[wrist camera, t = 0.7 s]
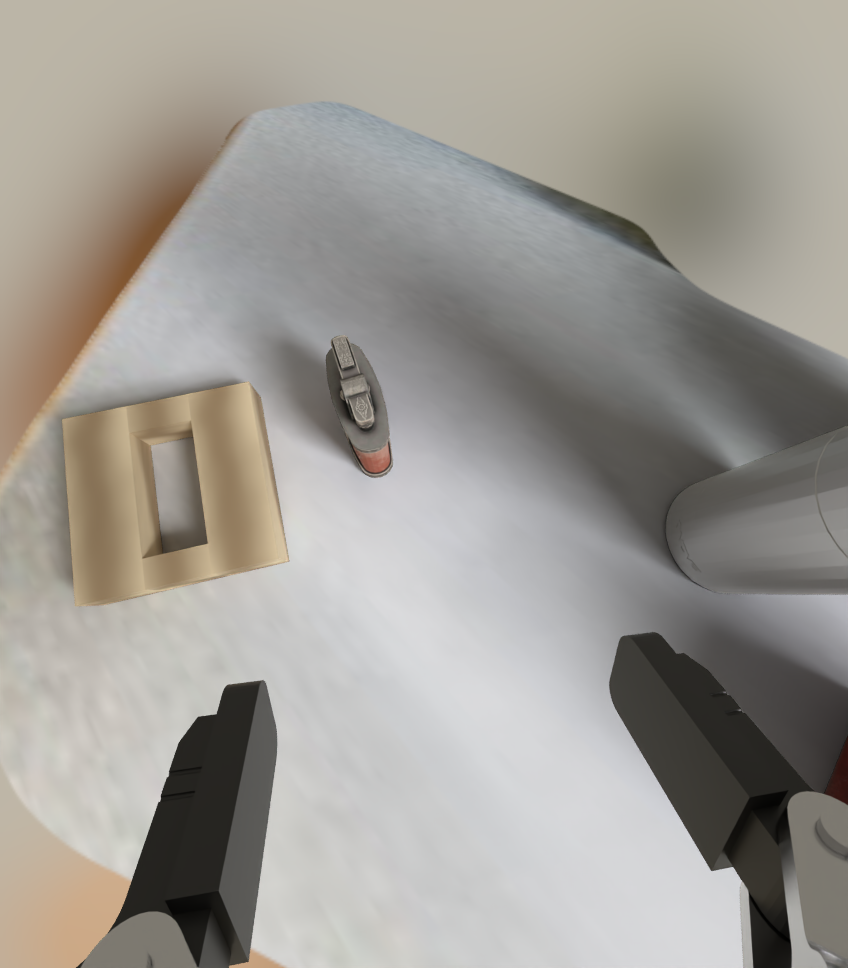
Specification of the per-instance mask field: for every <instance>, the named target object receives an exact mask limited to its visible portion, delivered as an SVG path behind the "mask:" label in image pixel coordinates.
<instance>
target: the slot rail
mask: <svg viewBox="0 0 848 968" xmlns="http://www.w3.org/2000/svg"><path fill="white" fill-rule="evenodd" d="M62 426H63V441H64V455H65V469H66V483H67V498H68V512H69V526H70V540H71V555H72V569H73V583H74V597H75V606H96V605H106V604H110V603H115V602H119V601H123V600H127V599H132V598H136V597H140V596H144V595H149V594H153V593H157V592H161V591H166V590H170V589H174V588H178V587H183V586H187V585H191V584H195V583H200V582H204V581H208V580H212V579H217V578H221V577H225V576H229V575H234V574H238V573H242V572H246V571H251V570H255V569H259V568H263V567H268V566H272V565H276V564H280V563H285V562H289V557H288V551H287V545H286V540H285V534H284V528H283V522H282V517H281V511H280V505H279V499H278V493H277V488H276V482H275V476H274V470H273V465H272V459H271V453H270V447H269V442H268V436H267V430H266V424H265V419H264V413H263V407H262V401H261V397H260V396H259V394H258V393H257V392H256V390H255V389H254V388H253V386H252V385H251V384H250V382H244V383H240V384H235V385H230V386H225V387H220V388H215V389H210V390H205V391H200V392H195V393H190V394H185V395H180V396H175V397H170V398H165V399H160V400H155V401H150V402H145V403H140V404H135V405H130V406H125V407H120V408H115V409H110V410H105V411H100V412H95V413H90V414H85V415H80V416H75V417H70V418H65V419H62ZM189 437H193V438H194V445H195V453H196V460H197V467H198V475H199V482H200V489H201V497H202V504H203V511H204V519H205V526H206V534H207V541H208V544H204V545H200V546H195V547H191V548H187V549H182V550H178V551H174V552H169V553H165V554H163V550H162V541H161V533H160V524H159V515H158V506H157V497H156V489H155V480H154V471H153V462H152V454H151V445H155V444H160V443H165V442H170V441H174V440H179V439H184V438H189Z"/></svg>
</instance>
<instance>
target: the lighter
mask: <svg viewBox="0 0 848 968" xmlns="http://www.w3.org/2000/svg"><path fill="white" fill-rule="evenodd" d="M331 346H332V349H330V350H329V352H328V354H327V355H326V369H327V379H328V384H329V389H330V393H331V397H332V401H333V404H334V407H335V409H336V412H337V414H338V417H339V419H340V422H341V424H342V427H343V429H344V430H345V434H346V437H347V440H348V442H349V445H350V447H351V450H352V452H353V454H354V457H355V458H356V460H357V462H358V464H359V466H360V467H361V469H362V471H363V472H364V473H365V475H367V476H369V477H372V478H379V477H382V476H385V475H386V474H388V473H389V472H390V470H391V468H392V466H393V458H392V451H391V443H390V438H389V437H390V433H389V425H388V417H387V409H386V406H385V402H384V398H383V394H382V390H381V387H380V385H379V382H378V380H377V378H376V375H375V373H374V371H373V369H372V367H371V365H370V363H369V362H368V360H367V358H366V357H365V355H364V353H363V351H362V350H361V349H360V348H359V347H358V346H356V345H354V344H351V343H350V342H349V339H348V337H346V336H344V335H341V336H337V337H334V338H333V339H332V340H331Z"/></svg>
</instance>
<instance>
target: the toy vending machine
mask: <svg viewBox="0 0 848 968" xmlns="http://www.w3.org/2000/svg"><path fill="white" fill-rule="evenodd" d="M824 794H825V795H828V796H831V797H833V798H835V799H837V800H839V801H841V802H843V803H845V804H846V805H848V736H847V739H846V741H845V744H844V746H843V749H842V751H841V754H840V756H839V759H838V761H837V764H836V766H835V768H834V771H833V773H832V776H831V778H830V781H829V783H828V786H827V788H826V791H825V793H824Z"/></svg>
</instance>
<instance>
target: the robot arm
mask: <svg viewBox="0 0 848 968" xmlns="http://www.w3.org/2000/svg"><path fill="white" fill-rule="evenodd" d="M666 538H667V542H668V546H669V549H670V551H671V554H672V556H673V558H674V560H675V561H676V563H677V564H678V566H679V567H680V568H681V570H682V571H683V572H684V573H685V574H686V575H687V576H688V577H689V578H690V579H691V580H693V581H694V582H696V583H697V584H699V585H700V586H702V587H704V588H706V589H709V590H711V591H714V592H718V593H724V594H770V595H848V425H847V426H845V427H842V428H839V429H837V430H834V431H831V432H829V433H826V434H824V435H821V436H818V437H816V438H813V439H810V440H808V441H805V442H803V443H800V444H797V445H795V446H792V447H789V448H787V449H784V450H782V451H779V452H776V453H774V454H771V455H768V456H766V457H763V458H761V459H758V460H755V461H753V462H750V463H747V464H745V465H742V466H740V467H737V468H734V469H732V470H729V471H726V472H723V473H721V474H718V475H716V476H713V477H710V478H708V479H705V480H703V481H700V482H697V483H695V484H693V485H691V486H689V487H687V488H686V489H685V490H683V491H682V492H681V493H680V494H678V496H677V497H676V499H675V500H674V501H673V503H672V505H671V507H670V509H669V512H668V515H667V520H666ZM609 687H610V694H611V698H612V701H613V704H614V706H615V709H616V710H617V712H618V714H619V716H620V717H621V719H622V721H623V722H624V724H625V726H626V727H627V729H628V731H629V733H630V734H631V736H632V738H633V739H634V741H635V743H636V744H637V746H638V748H639V749H640V751H641V753H642V755H643V756H644V758H645V760H646V761H647V763H648V765H649V766H650V768H651V770H652V771H653V773H654V775H655V777H656V778H657V780H658V782H659V783H660V785H661V787H662V788H663V790H664V792H665V793H666V795H667V797H668V799H669V800H670V802H671V804H672V805H673V807H674V809H675V810H676V812H677V814H678V815H679V817H680V819H681V820H682V822H683V824H684V826H685V827H686V829H687V831H688V832H689V834H690V836H691V837H692V839H693V841H694V842H695V844H696V846H697V848H698V849H699V851H700V853H701V854H702V856H703V858H704V859H705V861H706V863H707V864H708V866H709V868H710V870H711V871H714V870H719V869H724V868H729V867H734V869H735V870H736V872H737V874H738V875H739V877H740V878H741V880H742V882H741V886H740V911H741V931H742V951H743V968H848V805H846V804H845V803H843V802H841V801H839V800H837V799H835V798H833V797H831V796H828V795H825V794H822V793H817V792H814V791H813V790H812V789H811V788H810V787H809V786H808V785H807V784H806V783H805V782H804V781H803V779H802V778H801V777H800V776H799V775H798V774H797V772H796V771H795V770H794V769H793V768H792V767H791V766H790V764H789V763H788V762H787V761H786V760H785V759H784V758H783V756H782V755H781V754H780V753H779V752H778V751H777V749H776V748H775V747H774V746H773V745H772V744H771V743H770V741H769V740H768V739H767V738H766V737H765V736H764V734H763V733H762V732H761V731H760V730H759V729H758V728H757V726H756V725H755V724H754V723H753V722H752V721H751V719H750V718H749V717H748V716H747V715H746V714H745V713H742V711H741V708H740V707H739V706H738V704H737V703H736V702H735V701H734V700H733V699H732V698H731V696H730V695H727V694H726V691H725V689H724V688H723V687H722V686H721V685H720V684H719V683H718V681H717V680H716V679H715V678H714V677H713V676H712V674H711V673H710V672H709V671H708V670H707V669H705V668H704V667H703V666H701V665H700V664H698V663H697V662H696V661H694V660H693V659H691V658H690V657H689V656H687V655H686V654H684V653H681V654H676V653H675V652H674V650H673V649H672V648H671V647H670V646H669V644H668V643H667V642H666V641H665V639H664V638H663V637H662V636H661V635H659V634H658V633H655V632H651V633H643V634H635V635H628V636H623V637H621V639H620V641H619V644H618V648H617V652H616V656H615V661H614V665H613V669H612V673H611V677H610V682H609ZM276 757H277V730H276V724H275V720H274V716H273V711H272V707H271V703H270V698H269V694H268V690H267V686H266V683H265V681H264V680H262V681H254V682H246V683H238V684H230V685H227V686H226V687H225V688H224V691H223V693H222V697H221V700H220V704H219V708H218V711H217V714H216V715H208V716H201V717H198V718H197V719H196V720H195V722H194V723H193V724H192V726H191V727H190V728H189V730H188V731H187V732H186V734H185V735H184V736H183V738H182V739H181V740H180V742H179V744H178V747H177V750H176V753H175V755H174V758H173V761H172V764H171V767H170V770H169V777H167V779H166V782H165V785H164V788H163V791H162V794H161V801H160V802H158V805H157V808H156V811H155V814H154V817H153V820H152V823H151V826H150V829H149V832H148V835H147V838H146V841H145V844H144V846H143V849H142V852H141V855H140V858H139V861H138V864H137V867H136V870H135V873H134V876H133V879H132V882H131V885H130V888H129V891H128V893H127V897H126V899H125V902H124V904H123V907H122V909H121V911H120V913H119V915H118V917H117V919H116V921H115V923H114V924H113V926H112V928H111V929H110V931H109V932H108V934H107V935H106V936H105V937H104V938H103V939H102V940H101V941H100V942H99V943H98V944H97V945H96V947H95V948H94V949H93V950H92V951H91V953H90V954H89V955H88V957H87V958H86V959H85V960H84V961H83V962H82V963H81V964H80V965H79V966H78V967H76V968H229V966H230V965H235V964H240V963H245V962H248V961H249V954H250V947H251V939H252V932H253V925H254V918H255V910H256V903H257V896H258V889H259V881H260V874H261V867H262V859H263V852H264V845H265V838H266V830H267V823H268V816H269V808H270V801H271V794H272V787H273V779H274V772H275V765H276Z"/></svg>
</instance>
